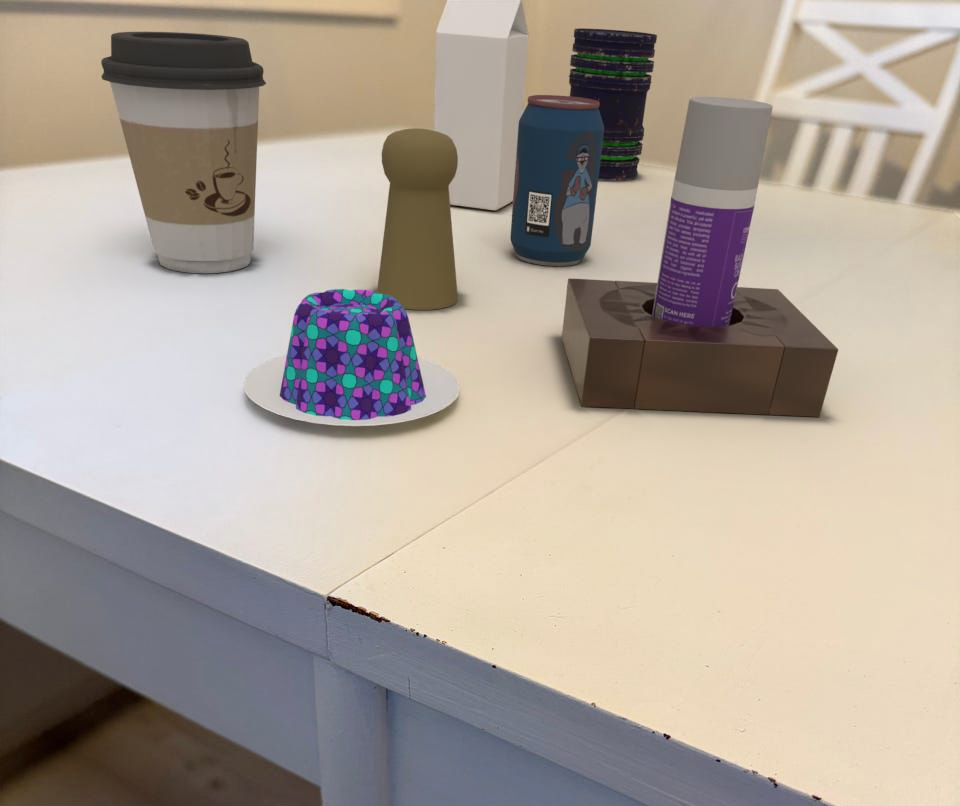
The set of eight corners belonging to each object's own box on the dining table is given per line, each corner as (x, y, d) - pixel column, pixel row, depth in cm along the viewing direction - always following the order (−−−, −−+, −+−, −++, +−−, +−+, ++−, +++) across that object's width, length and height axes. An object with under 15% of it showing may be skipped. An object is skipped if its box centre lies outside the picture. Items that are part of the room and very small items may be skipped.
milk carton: (496, 212, 95) (510, -15, 84) (431, 203, 97) (436, -21, 86) (516, 200, 101) (532, -15, 90) (454, 192, 103) (462, -20, 91)
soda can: (528, 244, 85) (540, 91, 78) (600, 256, 83) (619, 100, 76) (495, 259, 80) (506, 97, 73) (571, 272, 78) (589, 107, 71)
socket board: (764, 349, 64) (778, 288, 62) (819, 417, 54) (839, 349, 52) (561, 339, 63) (568, 277, 61) (581, 406, 54) (589, 337, 51)
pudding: (480, 375, 57) (485, 286, 54) (427, 453, 47) (429, 350, 44) (294, 349, 59) (289, 262, 56) (206, 420, 49) (194, 319, 46)
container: (728, 387, 58) (789, 109, 49) (656, 388, 57) (704, 105, 48) (702, 361, 61) (754, 98, 53) (633, 361, 61) (675, 94, 52)
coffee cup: (183, 289, 68) (152, 44, 59) (101, 256, 74) (62, 29, 65) (307, 266, 75) (296, 44, 66) (223, 237, 81) (203, 30, 72)
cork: (467, 308, 68) (475, 138, 62) (385, 311, 66) (385, 136, 60) (446, 285, 73) (451, 124, 66) (369, 287, 71) (367, 122, 65)
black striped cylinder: (544, 171, 116) (557, 28, 108) (583, 163, 123) (598, 28, 114) (615, 184, 112) (634, 36, 103) (651, 175, 119) (672, 35, 110)
